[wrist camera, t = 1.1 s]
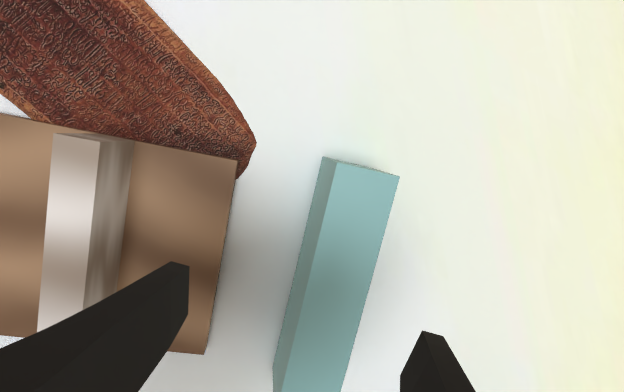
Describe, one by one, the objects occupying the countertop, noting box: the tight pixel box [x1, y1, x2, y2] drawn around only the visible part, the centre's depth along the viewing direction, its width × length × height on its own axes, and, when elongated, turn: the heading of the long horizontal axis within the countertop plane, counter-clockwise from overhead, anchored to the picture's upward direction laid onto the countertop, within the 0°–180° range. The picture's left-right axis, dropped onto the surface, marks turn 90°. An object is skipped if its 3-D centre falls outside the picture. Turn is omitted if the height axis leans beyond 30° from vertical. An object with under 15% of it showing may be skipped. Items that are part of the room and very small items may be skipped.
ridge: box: [0, 113, 238, 355], centre depth 18 cm, size 14×14×5 cm
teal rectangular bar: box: [273, 157, 400, 392], centre depth 21 cm, size 16×4×5 cm, turn 167°
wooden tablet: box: [0, 0, 257, 180], centre depth 18 cm, size 26×2×10 cm
